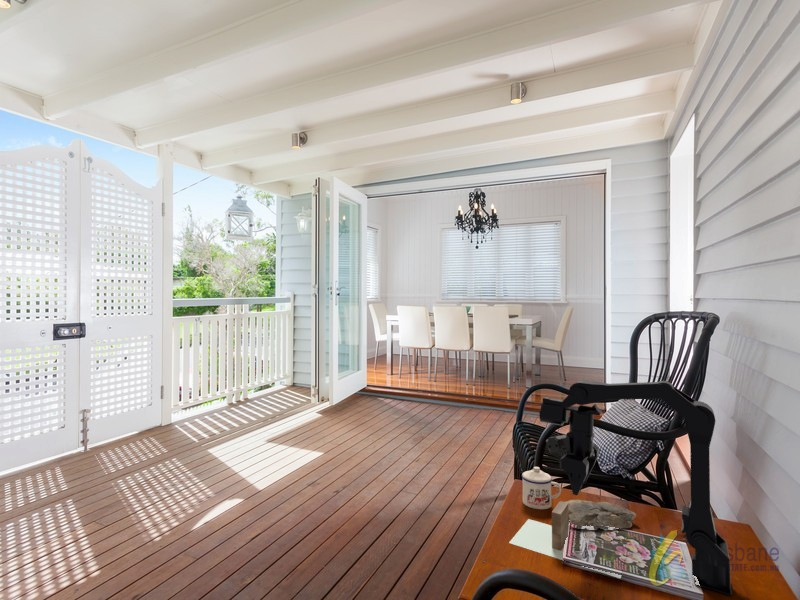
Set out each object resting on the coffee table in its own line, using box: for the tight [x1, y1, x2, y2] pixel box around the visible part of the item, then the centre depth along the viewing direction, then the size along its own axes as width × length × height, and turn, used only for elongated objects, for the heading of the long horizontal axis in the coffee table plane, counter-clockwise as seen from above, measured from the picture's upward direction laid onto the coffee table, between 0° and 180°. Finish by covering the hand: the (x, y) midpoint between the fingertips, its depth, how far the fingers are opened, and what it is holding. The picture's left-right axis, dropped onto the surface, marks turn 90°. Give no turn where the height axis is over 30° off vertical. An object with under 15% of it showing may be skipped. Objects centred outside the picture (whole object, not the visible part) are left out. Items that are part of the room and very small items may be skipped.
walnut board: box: [551, 500, 570, 551], centre depth 110 cm, size 2×8×9 cm, turn 145°
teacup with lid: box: [521, 466, 562, 510], centre depth 134 cm, size 12×9×12 cm
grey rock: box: [565, 499, 637, 530], centre depth 123 cm, size 14×5×20 cm
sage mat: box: [508, 518, 622, 579], centre depth 109 cm, size 26×16×1 cm, turn 55°
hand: (579, 488), depth 111 cm, fingers open, 9 cm apart
